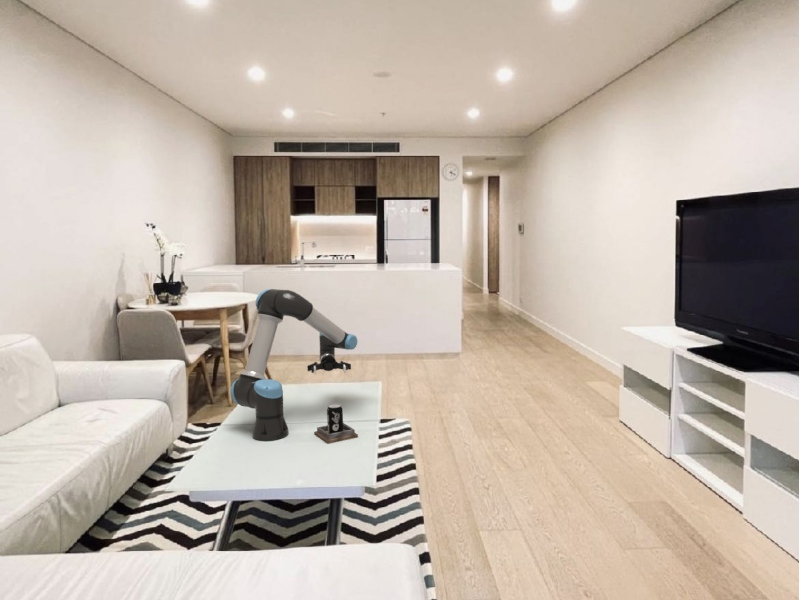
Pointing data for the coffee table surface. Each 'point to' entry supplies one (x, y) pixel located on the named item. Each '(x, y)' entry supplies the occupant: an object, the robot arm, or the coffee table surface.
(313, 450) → the coffee table surface
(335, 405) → the beverage can
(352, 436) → the tray
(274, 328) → the robot arm
